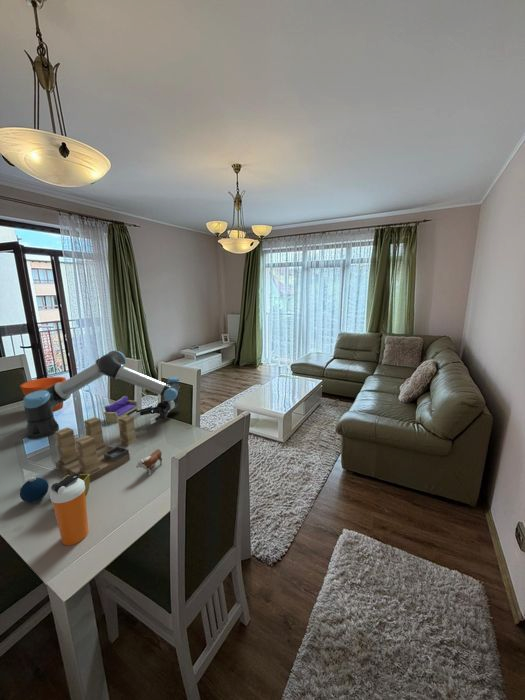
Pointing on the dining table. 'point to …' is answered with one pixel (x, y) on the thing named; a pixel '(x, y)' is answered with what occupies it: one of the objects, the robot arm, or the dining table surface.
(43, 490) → the christmas ornament
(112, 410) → the toy sofa
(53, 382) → the flowerpot
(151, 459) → the bull figurine
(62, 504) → the shaker bottle
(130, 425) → the stool leg
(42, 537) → the dining table surface
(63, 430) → the tan post-studded fixture
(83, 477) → the flower pot
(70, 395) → the robot arm
